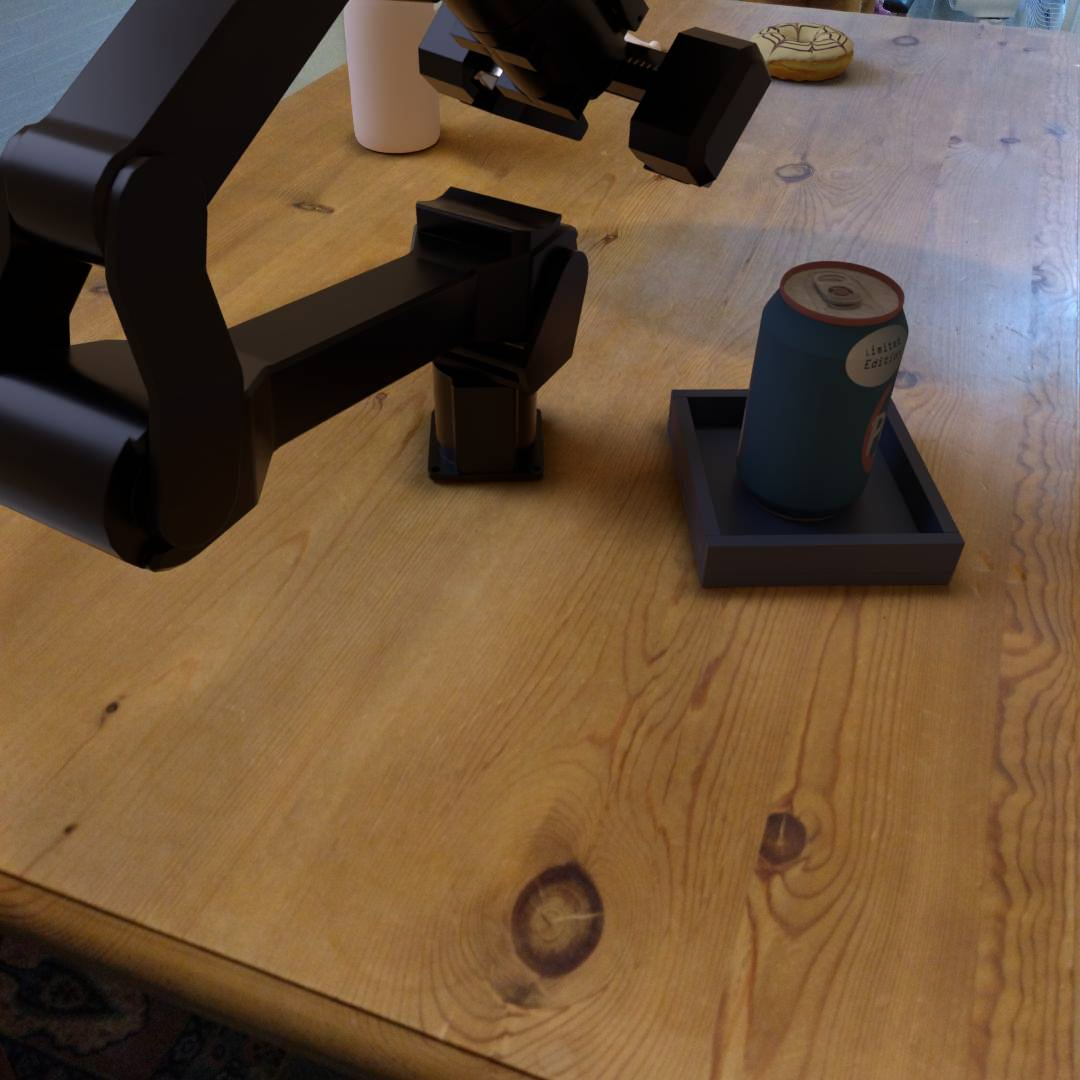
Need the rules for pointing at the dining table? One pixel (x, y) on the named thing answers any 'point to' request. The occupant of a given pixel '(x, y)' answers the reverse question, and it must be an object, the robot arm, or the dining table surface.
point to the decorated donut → (804, 51)
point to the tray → (806, 546)
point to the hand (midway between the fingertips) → (644, 155)
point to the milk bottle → (390, 75)
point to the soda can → (820, 388)
